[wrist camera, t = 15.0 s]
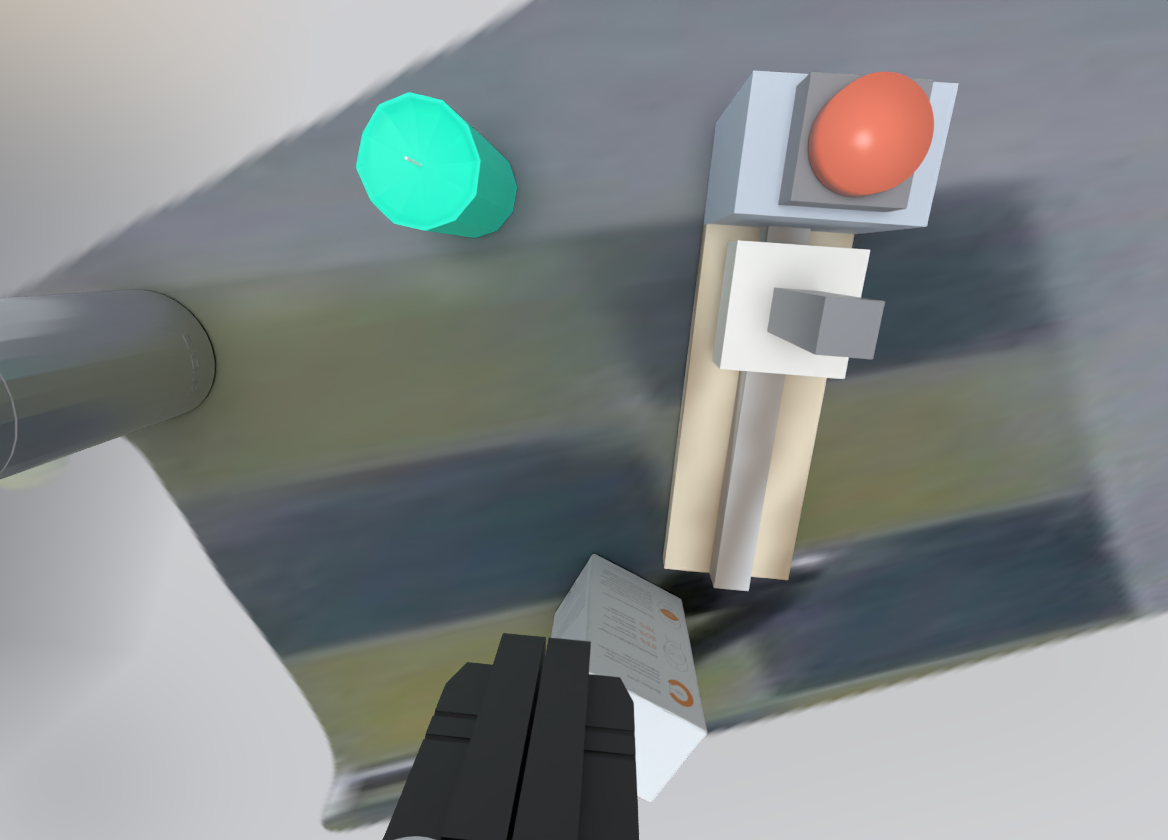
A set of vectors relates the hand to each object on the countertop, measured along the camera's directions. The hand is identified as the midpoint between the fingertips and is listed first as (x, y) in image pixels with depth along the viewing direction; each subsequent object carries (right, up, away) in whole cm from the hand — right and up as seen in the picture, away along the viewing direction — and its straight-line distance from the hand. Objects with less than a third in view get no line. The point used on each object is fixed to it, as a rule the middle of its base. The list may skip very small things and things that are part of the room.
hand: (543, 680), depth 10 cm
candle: (-7, +19, +27) cm, 34 cm away
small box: (+3, -10, +35) cm, 37 cm away
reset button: (+13, +17, +16) cm, 26 cm away
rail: (+12, +5, +30) cm, 33 cm away
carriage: (+12, +12, +26) cm, 31 cm away
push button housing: (+13, +19, +26) cm, 35 cm away
